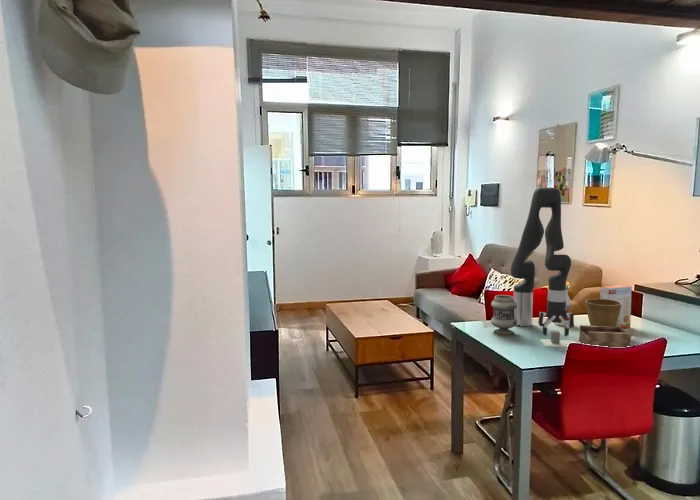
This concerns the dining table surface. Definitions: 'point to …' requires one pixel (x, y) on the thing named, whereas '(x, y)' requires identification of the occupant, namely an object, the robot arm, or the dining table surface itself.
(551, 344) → the lid
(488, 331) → the dining table surface
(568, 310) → the milk bottle
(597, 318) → the plant pot
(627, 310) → the cracker box
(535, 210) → the robot arm
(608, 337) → the walnut box
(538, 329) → the dining table surface
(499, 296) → the apothecary jar
